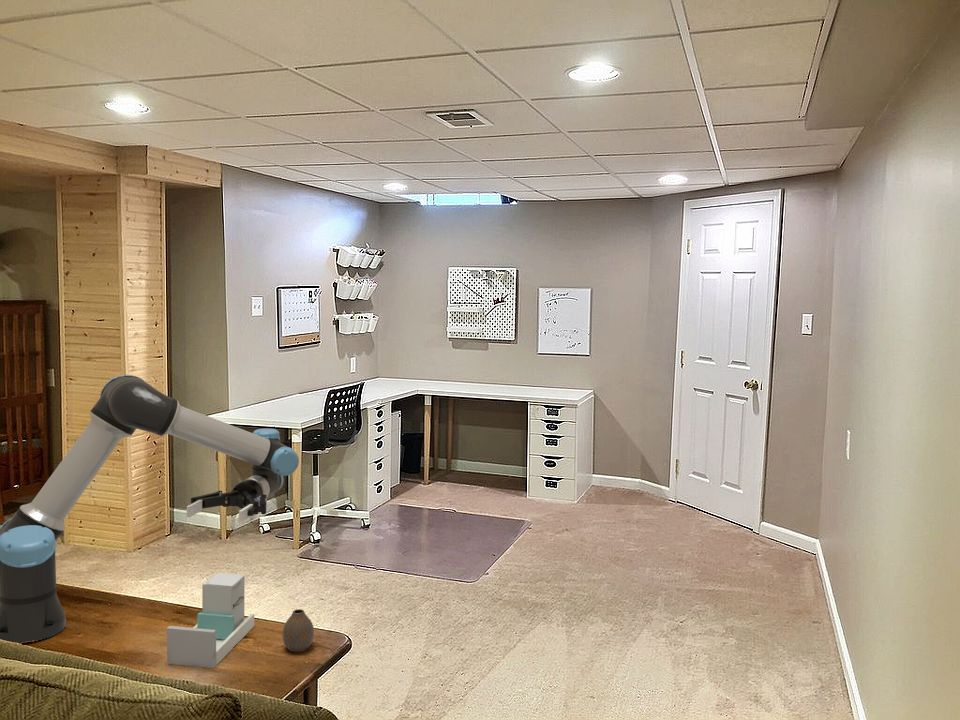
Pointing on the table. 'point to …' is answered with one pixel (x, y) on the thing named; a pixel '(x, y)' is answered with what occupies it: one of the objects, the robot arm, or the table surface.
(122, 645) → the table surface
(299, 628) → the vase
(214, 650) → the tray
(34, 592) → the robot arm
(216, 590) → the supplement box
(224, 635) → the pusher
